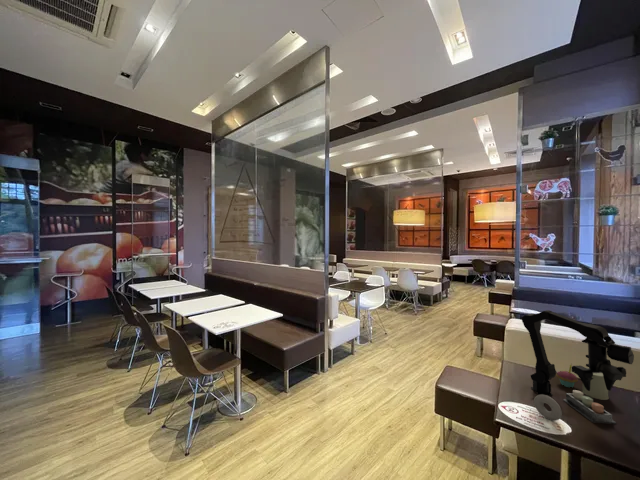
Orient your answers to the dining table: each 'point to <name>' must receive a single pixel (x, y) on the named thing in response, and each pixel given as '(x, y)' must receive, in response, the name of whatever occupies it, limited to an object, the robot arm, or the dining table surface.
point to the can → (597, 387)
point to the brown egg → (597, 408)
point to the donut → (551, 415)
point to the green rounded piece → (587, 401)
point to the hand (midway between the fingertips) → (598, 390)
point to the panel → (588, 410)
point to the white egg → (577, 394)
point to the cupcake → (567, 378)
